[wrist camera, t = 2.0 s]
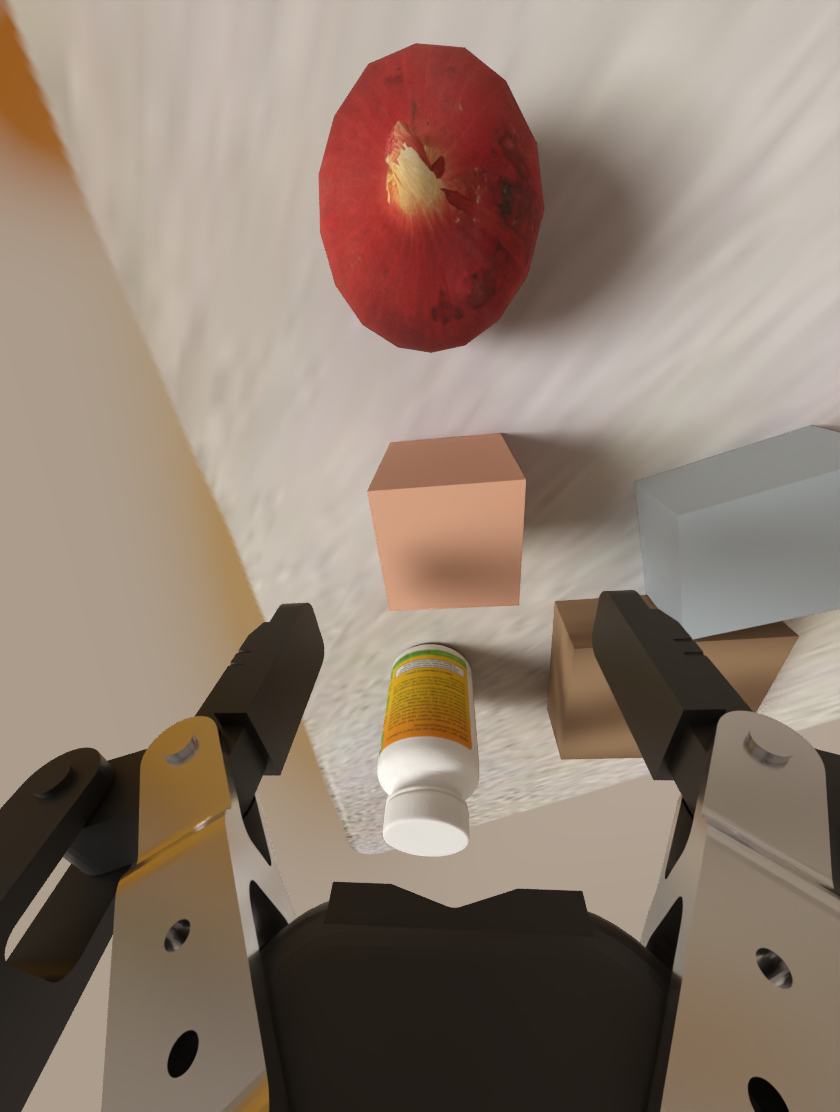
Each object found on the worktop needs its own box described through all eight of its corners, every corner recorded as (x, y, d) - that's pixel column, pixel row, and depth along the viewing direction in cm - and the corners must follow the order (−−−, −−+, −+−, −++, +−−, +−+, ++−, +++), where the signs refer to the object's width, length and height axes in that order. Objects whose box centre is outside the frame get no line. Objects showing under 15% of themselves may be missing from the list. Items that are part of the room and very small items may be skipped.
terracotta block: (390, 442, 17) (367, 491, 12) (500, 432, 16) (526, 479, 11) (403, 536, 19) (389, 610, 14) (498, 531, 19) (519, 605, 14)
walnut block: (553, 597, 21) (574, 648, 18) (739, 584, 20) (799, 636, 17) (545, 704, 26) (561, 759, 23) (693, 698, 25) (731, 755, 22)
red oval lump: (536, 151, 12) (669, -101, 5) (494, 356, 15) (538, 380, 8) (354, 122, 11) (225, -181, 5) (350, 335, 14) (269, 340, 8)
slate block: (631, 479, 17) (678, 515, 14) (806, 423, 15) (907, 450, 12) (643, 590, 20) (683, 641, 17) (788, 554, 19) (864, 603, 15)
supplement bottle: (378, 653, 24) (345, 820, 16) (454, 632, 23) (460, 804, 14) (411, 701, 27) (397, 868, 18) (481, 685, 25) (500, 857, 17)
